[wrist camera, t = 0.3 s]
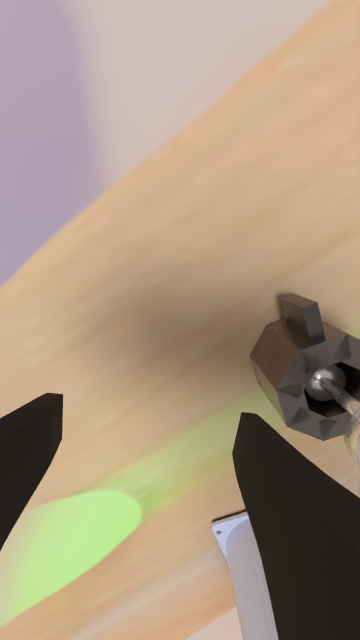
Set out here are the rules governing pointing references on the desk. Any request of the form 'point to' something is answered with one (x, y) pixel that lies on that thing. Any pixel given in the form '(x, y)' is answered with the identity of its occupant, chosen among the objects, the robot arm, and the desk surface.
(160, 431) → the desk surface
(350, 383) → the grey octagonal pot
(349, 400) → the grey flared round piece
